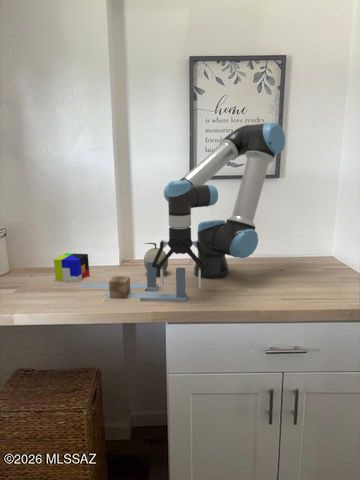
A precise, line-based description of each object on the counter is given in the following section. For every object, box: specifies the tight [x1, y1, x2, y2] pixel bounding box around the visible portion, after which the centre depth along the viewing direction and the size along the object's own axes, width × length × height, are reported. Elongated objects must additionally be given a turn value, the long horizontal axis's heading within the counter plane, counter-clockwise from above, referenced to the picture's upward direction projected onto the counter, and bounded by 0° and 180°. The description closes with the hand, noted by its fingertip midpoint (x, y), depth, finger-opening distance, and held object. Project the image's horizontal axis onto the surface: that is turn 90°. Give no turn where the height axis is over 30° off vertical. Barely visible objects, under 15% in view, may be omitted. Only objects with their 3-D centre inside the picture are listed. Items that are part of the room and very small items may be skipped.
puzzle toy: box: [53, 252, 90, 283], centre depth 146 cm, size 10×10×10 cm
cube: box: [108, 275, 131, 299], centre depth 126 cm, size 6×6×6 cm
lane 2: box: [102, 267, 188, 302], centre depth 125 cm, size 30×5×11 cm, turn 85°
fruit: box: [143, 242, 169, 276], centre depth 152 cm, size 10×12×15 cm
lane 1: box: [130, 260, 159, 292], centre depth 134 cm, size 12×5×11 cm, turn 85°
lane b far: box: [78, 282, 109, 289], centre depth 137 cm, size 15×5×1 cm, turn 85°
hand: (180, 286), depth 124 cm, fingers open, 13 cm apart
